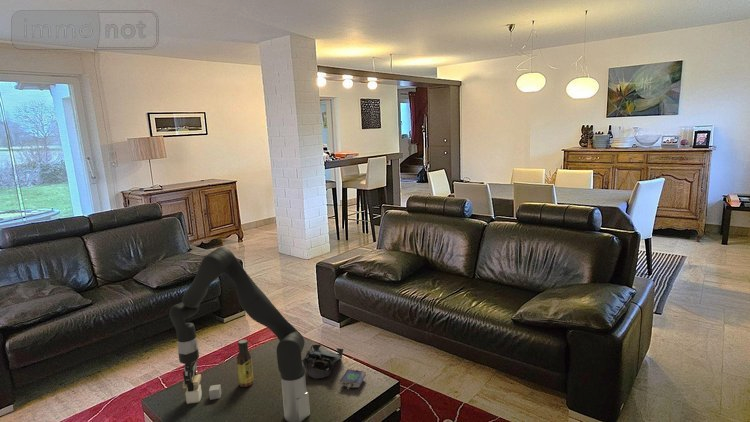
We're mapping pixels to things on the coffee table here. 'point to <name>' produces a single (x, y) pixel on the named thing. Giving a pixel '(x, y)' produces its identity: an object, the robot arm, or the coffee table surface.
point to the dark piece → (320, 361)
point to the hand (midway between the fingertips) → (192, 386)
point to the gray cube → (215, 391)
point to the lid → (194, 381)
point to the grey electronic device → (352, 378)
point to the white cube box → (194, 395)
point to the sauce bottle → (244, 365)
